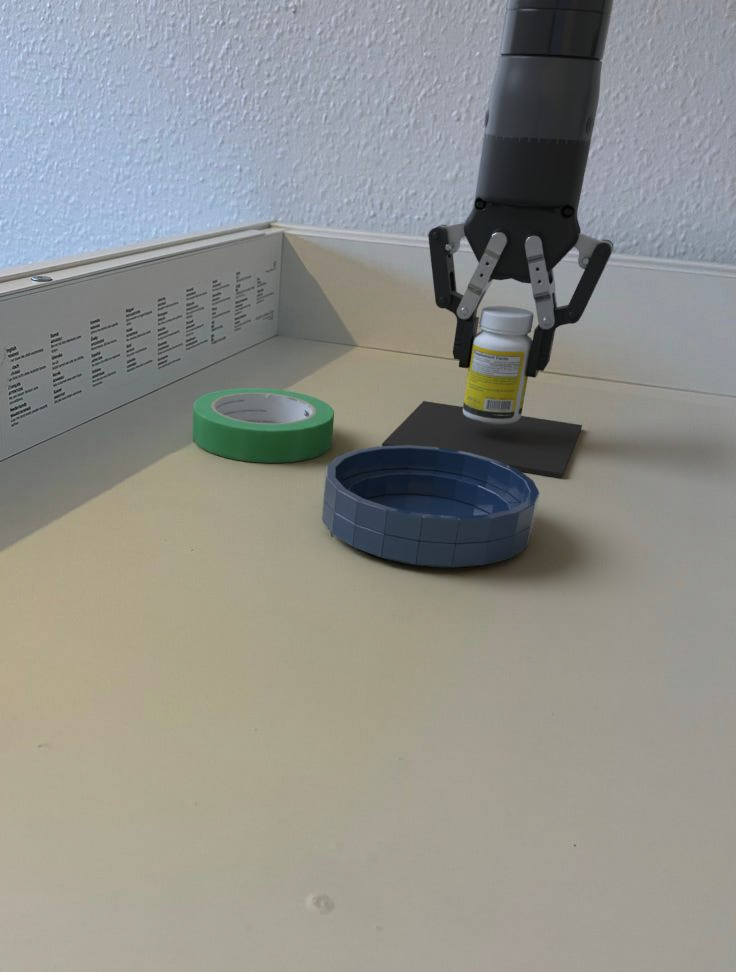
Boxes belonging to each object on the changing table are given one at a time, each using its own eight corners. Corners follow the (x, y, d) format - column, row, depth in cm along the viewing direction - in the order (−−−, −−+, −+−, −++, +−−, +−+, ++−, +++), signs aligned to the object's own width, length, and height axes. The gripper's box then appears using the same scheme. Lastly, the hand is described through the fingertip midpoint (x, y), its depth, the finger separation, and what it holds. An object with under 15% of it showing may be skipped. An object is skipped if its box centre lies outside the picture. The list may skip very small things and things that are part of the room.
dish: (541, 515, 67) (551, 465, 65) (509, 592, 56) (520, 535, 55) (355, 481, 71) (360, 434, 69) (293, 547, 60) (297, 493, 59)
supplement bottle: (486, 405, 84) (503, 302, 80) (532, 419, 81) (552, 313, 77) (449, 414, 81) (465, 307, 77) (495, 429, 78) (513, 319, 74)
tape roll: (322, 470, 73) (325, 434, 72) (177, 454, 74) (177, 419, 73) (338, 426, 82) (341, 395, 81) (209, 413, 84) (210, 382, 83)
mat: (581, 429, 85) (582, 424, 85) (561, 478, 74) (563, 473, 74) (422, 405, 90) (423, 400, 89) (381, 448, 78) (382, 443, 78)
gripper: (645, 137, 72) (594, 373, 80) (450, 124, 76) (421, 349, 84) (639, 139, 65) (585, 394, 74) (428, 126, 70) (399, 368, 78)
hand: (498, 369), depth 79 cm, fingers closed on supplement bottle, 4 cm apart
